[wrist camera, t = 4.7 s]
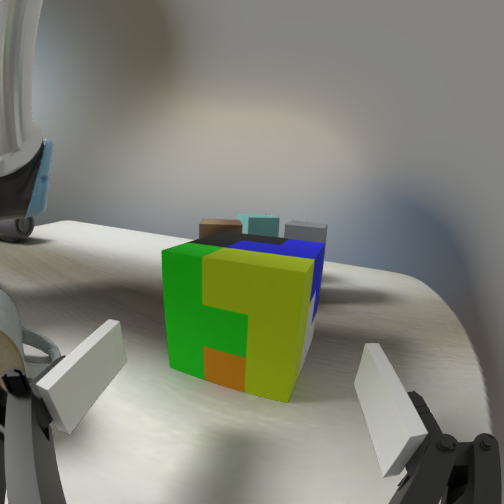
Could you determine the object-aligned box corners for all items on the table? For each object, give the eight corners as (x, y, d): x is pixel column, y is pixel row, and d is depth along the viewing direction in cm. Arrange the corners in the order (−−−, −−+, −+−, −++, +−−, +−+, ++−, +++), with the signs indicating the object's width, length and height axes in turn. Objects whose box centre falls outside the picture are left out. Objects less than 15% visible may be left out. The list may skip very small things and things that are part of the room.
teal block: (245, 282, 43) (248, 217, 41) (235, 272, 48) (238, 213, 46) (275, 280, 45) (279, 217, 43) (263, 271, 50) (266, 214, 47)
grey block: (279, 298, 38) (285, 224, 36) (287, 286, 42) (292, 220, 40) (315, 303, 36) (324, 228, 34) (320, 291, 41) (327, 224, 39)
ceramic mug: (-31, 417, 8) (-73, 324, 7) (-32, 362, 13) (-55, 285, 12) (76, 389, 16) (53, 299, 15) (53, 343, 21) (38, 269, 20)
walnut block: (199, 304, 34) (199, 223, 32) (202, 289, 39) (202, 218, 37) (239, 305, 35) (242, 225, 33) (237, 290, 40) (240, 219, 38)
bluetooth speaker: (36, 239, 66) (35, 206, 64) (14, 245, 57) (12, 210, 55) (5, 235, 70) (4, 207, 68) (-14, 240, 61) (-16, 211, 59)
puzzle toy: (312, 340, 27) (325, 243, 25) (287, 403, 18) (306, 272, 16) (222, 321, 30) (224, 231, 28) (170, 367, 21) (161, 250, 19)
